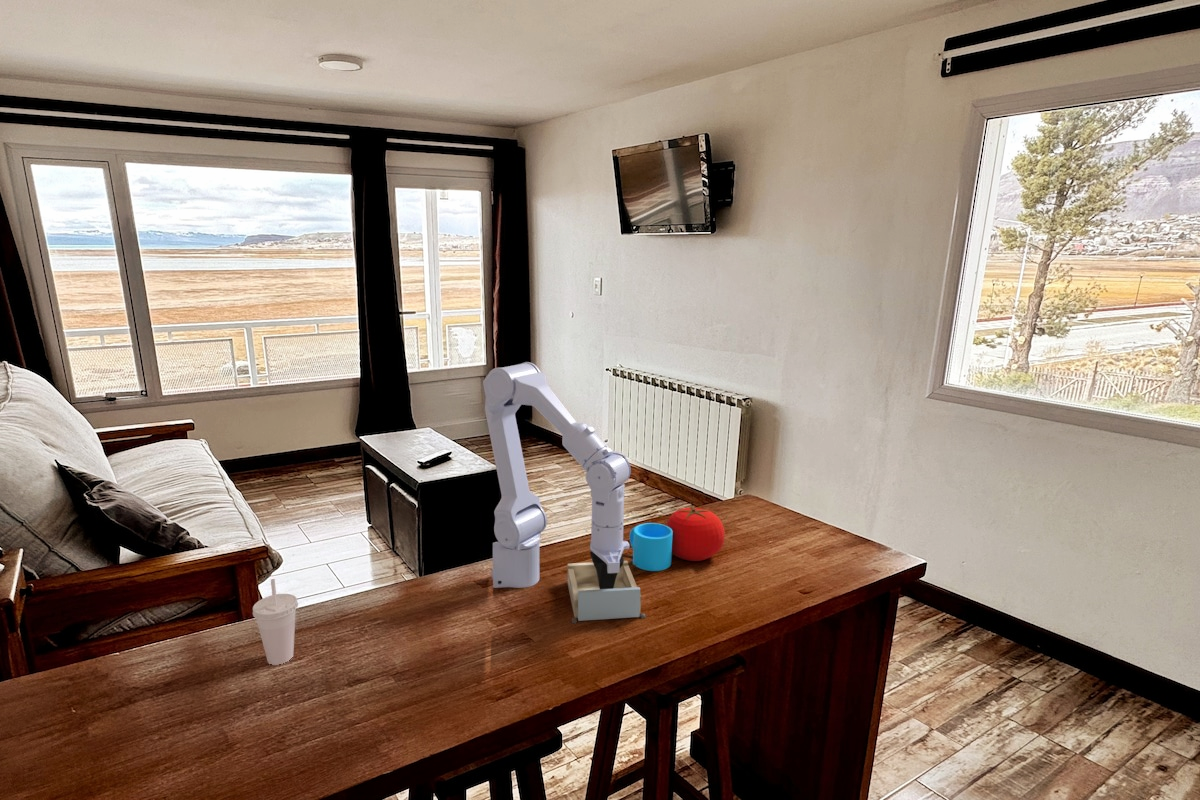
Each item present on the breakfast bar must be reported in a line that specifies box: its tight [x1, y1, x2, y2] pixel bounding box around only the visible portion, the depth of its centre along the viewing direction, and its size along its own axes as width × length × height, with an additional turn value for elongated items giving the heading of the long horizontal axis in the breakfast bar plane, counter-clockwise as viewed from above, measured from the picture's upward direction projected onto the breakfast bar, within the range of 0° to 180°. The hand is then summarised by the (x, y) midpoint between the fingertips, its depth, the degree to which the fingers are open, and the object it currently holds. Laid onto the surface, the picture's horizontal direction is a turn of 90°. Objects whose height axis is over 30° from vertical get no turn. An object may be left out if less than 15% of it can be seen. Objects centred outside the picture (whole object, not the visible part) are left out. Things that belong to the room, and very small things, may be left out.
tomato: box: [665, 505, 726, 562], centre depth 139 cm, size 12×13×11 cm
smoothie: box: [252, 578, 299, 666], centre depth 100 cm, size 6×6×14 cm
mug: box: [629, 522, 673, 572], centre depth 136 cm, size 12×8×8 cm
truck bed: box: [566, 560, 646, 624], centre depth 119 cm, size 13×15×5 cm
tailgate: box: [577, 586, 641, 622], centre depth 112 cm, size 11×1×5 cm, turn 99°
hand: (606, 590), depth 116 cm, fingers closed
